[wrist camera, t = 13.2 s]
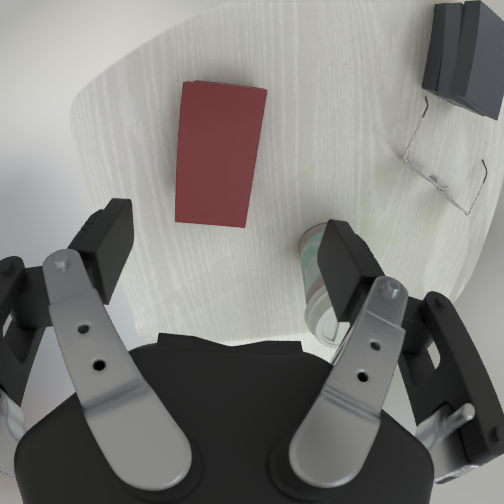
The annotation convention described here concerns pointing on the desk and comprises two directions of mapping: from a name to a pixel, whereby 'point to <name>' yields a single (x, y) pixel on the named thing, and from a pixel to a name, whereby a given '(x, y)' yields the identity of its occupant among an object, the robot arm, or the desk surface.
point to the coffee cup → (318, 293)
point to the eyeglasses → (434, 178)
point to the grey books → (467, 57)
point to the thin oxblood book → (217, 152)
